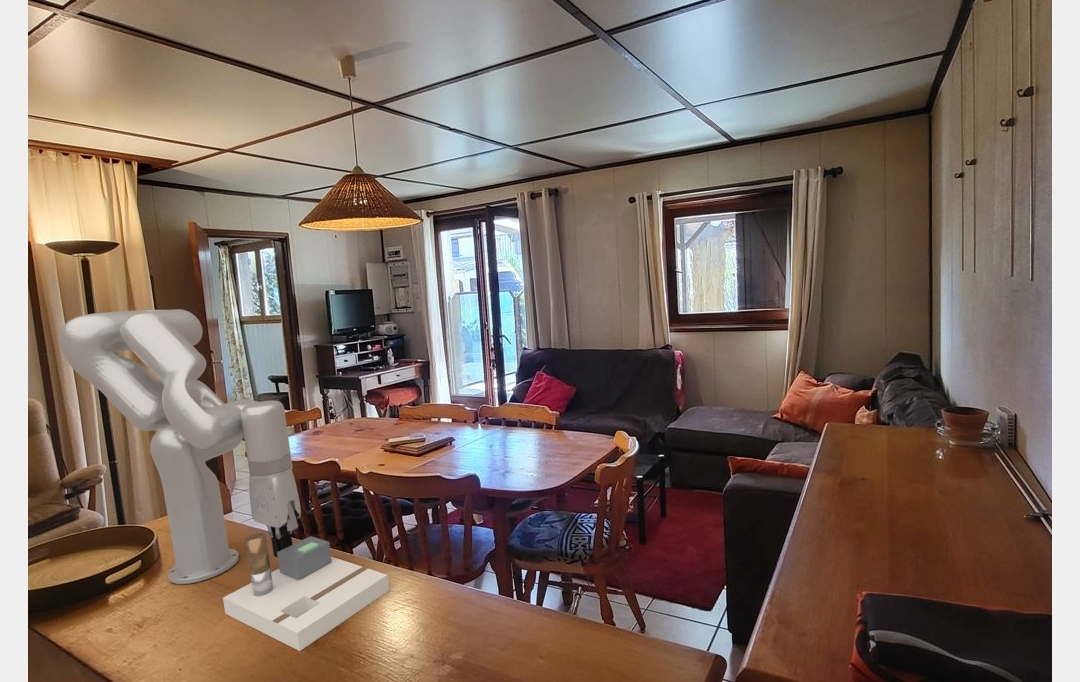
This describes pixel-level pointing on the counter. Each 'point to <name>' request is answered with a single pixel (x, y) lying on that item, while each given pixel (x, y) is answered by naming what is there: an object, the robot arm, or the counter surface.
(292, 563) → the block
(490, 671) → the counter surface
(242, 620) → the white flat rectangular board
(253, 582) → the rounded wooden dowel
